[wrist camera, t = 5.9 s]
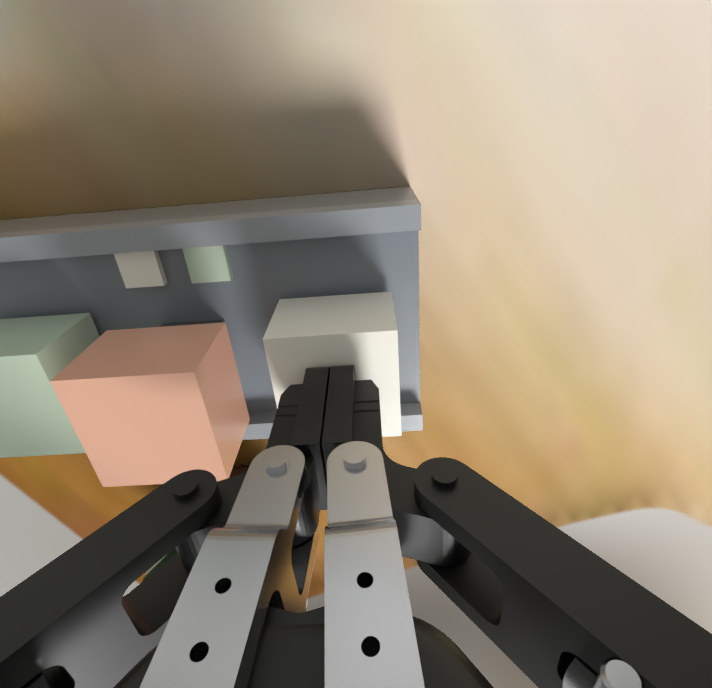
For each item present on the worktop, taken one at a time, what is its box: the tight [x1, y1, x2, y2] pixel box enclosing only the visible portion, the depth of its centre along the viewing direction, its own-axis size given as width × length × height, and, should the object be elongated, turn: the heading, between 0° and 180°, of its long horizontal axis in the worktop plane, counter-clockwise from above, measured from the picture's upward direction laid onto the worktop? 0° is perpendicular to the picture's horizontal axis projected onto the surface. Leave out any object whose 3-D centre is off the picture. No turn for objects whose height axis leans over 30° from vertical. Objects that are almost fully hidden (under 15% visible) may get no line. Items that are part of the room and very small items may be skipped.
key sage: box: [0, 313, 100, 458], centre depth 16 cm, size 4×4×3 cm
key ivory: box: [263, 291, 402, 437], centre depth 15 cm, size 4×4×3 cm
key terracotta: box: [50, 322, 250, 487], centre depth 14 cm, size 4×4×3 cm
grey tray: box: [0, 186, 423, 440], centre depth 17 cm, size 17×9×5 cm, turn 95°
